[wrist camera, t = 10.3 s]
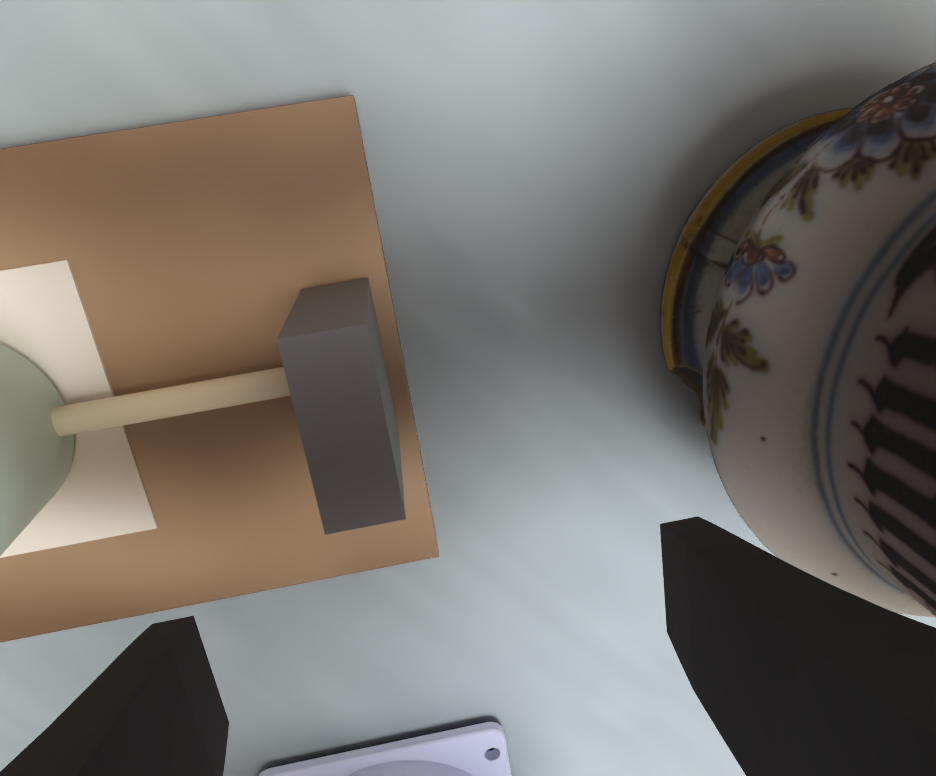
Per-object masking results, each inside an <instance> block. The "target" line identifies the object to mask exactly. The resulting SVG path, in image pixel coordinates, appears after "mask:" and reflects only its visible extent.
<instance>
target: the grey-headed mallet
mask: <svg viewBox="0 0 936 776" xmlns="http://www.w3.org/2000/svg"><path fill="white" fill-rule="evenodd" d="M277 342H278V347H279V351H280V355H281V359H282V363H283V367H280V368H274V369H268V370H263V371H257V372H251V373H246V374H240V375H234V376H229V377H223V378H217V379H212V380H206V381H200V382H195V383H189V384H183V385H177V386H172V387H166V388H160V389H155V390H149V391H143V392H138V393H132V394H126V395H121V396H115V397H109V398H104V399H98V400H92V401H87V402H81V403H75V404H70V405H65V404H64V402H63V400H62V399H61V397H60V395H59V394H58V392H57V390H56V389H55V388H54V386H53V385H52V384H51V382H50V381H49V380H48V379H47V377H46V376H45V375H44V374H43V373H42V372H41V371H40V370H39V369H38V368H37V367H35V366H34V365H33V364H32V363H30V362H29V361H28V360H27V359H25V358H24V357H23V356H21V355H19V354H18V353H16V352H15V351H13V350H12V349H10V348H8V347H6V346H4V345H2V344H0V556H1V555H2V553H3V552H4V551H5V550H6V549H7V548H8V547H9V546H10V544H11V543H12V542H13V541H14V540H15V539H16V538H17V537H18V536H19V534H20V533H21V532H22V531H23V530H24V529H25V528H26V527H27V525H28V524H29V523H30V522H31V521H32V520H33V519H34V518H35V517H36V515H37V514H38V513H39V512H40V511H41V510H42V509H43V508H44V506H45V505H46V504H47V503H48V502H49V501H50V500H51V499H52V498H53V496H54V495H55V494H56V493H57V491H58V490H59V489H60V487H61V486H62V485H63V483H64V481H65V479H66V477H67V475H68V473H69V470H70V467H71V464H72V459H73V453H74V435H73V434H79V433H85V432H90V431H96V430H101V429H107V428H112V427H118V426H124V425H129V424H135V423H140V422H146V421H152V420H157V419H163V418H168V417H174V416H180V415H185V414H191V413H196V412H202V411H208V410H213V409H219V408H224V407H230V406H235V405H241V404H247V403H252V402H258V401H263V400H269V399H275V398H280V397H286V396H291V399H292V403H293V407H294V411H295V415H296V420H297V424H298V428H299V432H300V436H301V440H302V444H303V448H304V452H305V456H306V460H307V464H308V468H309V472H310V476H311V480H312V484H313V488H314V493H315V497H316V501H317V505H318V509H319V513H320V517H321V521H322V525H323V529H324V533H325V535H327V534H332V533H337V532H342V531H348V530H353V529H358V528H363V527H368V526H374V525H379V524H384V523H389V522H394V521H400V520H405V519H406V513H405V501H404V489H403V477H402V465H401V453H400V441H399V431H398V426H397V421H396V415H395V410H394V405H393V400H392V395H391V390H390V385H389V380H388V375H387V369H386V364H385V359H384V354H383V349H382V344H381V339H380V334H379V329H378V324H377V318H376V313H375V308H374V303H373V298H372V293H371V288H370V283H369V278H366V279H360V280H354V281H348V282H342V283H336V284H330V285H324V286H318V287H312V288H306V289H301V290H300V292H299V294H298V297H297V299H296V301H295V303H294V305H293V307H292V309H291V311H290V313H289V315H288V317H287V319H286V321H285V323H284V325H283V328H282V330H281V332H280V334H279V336H278V338H277Z"/></svg>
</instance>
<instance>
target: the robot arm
mask: <svg viewBox="0 0 936 776" xmlns="http://www.w3.org/2000/svg"><path fill="white" fill-rule="evenodd" d="M660 531H661V546H662V562H663V577H664V593H665V608H666V623H667V633H668V635H669V638H670V640H671V642H672V644H673V647H674V649H675V651H676V653H677V656H678V658H679V660H680V662H681V665H682V667H683V669H684V671H685V673H686V675H687V677H688V679H689V681H690V684H691V686H692V688H693V690H694V692H695V693H696V695H697V697H698V698H699V700H700V702H701V703H702V705H703V707H704V708H705V710H706V712H707V713H708V715H709V716H710V718H711V720H712V721H713V723H714V725H715V726H716V728H717V729H718V731H719V733H720V734H721V736H722V738H723V739H724V741H725V742H726V744H727V746H728V747H729V749H730V750H731V752H732V754H733V755H734V757H735V758H736V760H737V762H738V763H739V765H740V766H741V768H742V770H743V771H744V773H745V775H746V776H936V628H934V627H932V626H929V625H926V624H923V623H921V622H918V621H915V620H913V619H910V618H907V617H905V616H902V615H900V614H897V613H895V612H892V611H890V610H888V609H885V608H883V607H880V606H878V605H876V604H874V603H871V602H869V601H867V600H865V599H862V598H860V597H858V596H856V595H853V594H851V593H849V592H847V591H844V590H842V589H840V588H838V587H836V586H834V585H831V584H829V583H827V582H825V581H823V580H821V579H819V578H817V577H815V576H813V575H811V574H809V573H807V572H805V571H803V570H801V569H799V568H797V567H795V566H793V565H791V564H789V563H787V562H785V561H783V560H781V559H779V558H777V557H775V556H773V555H771V554H770V553H768V552H766V551H764V550H762V549H760V548H758V547H756V546H754V545H753V544H751V543H749V542H747V541H745V540H743V539H741V538H739V537H738V536H736V535H734V534H732V533H730V532H728V531H726V530H724V529H722V528H720V527H719V526H717V525H715V524H713V523H711V522H709V521H706V520H704V519H702V518H700V517H693V518H688V519H683V520H678V521H673V522H668V523H663V524H660ZM228 728H229V721H228V718H227V715H226V712H225V709H224V706H223V703H222V700H221V697H220V694H219V691H218V688H217V685H216V682H215V679H214V676H213V673H212V670H211V667H210V664H209V661H208V658H207V655H206V652H205V649H204V646H203V643H202V640H201V637H200V634H199V631H198V628H197V625H196V622H195V619H194V616H190V617H185V618H180V619H175V620H170V621H165V622H160V623H155V624H152V625H151V626H150V627H148V628H147V629H146V630H145V631H144V632H143V633H142V634H141V635H140V636H139V637H137V638H136V639H135V640H134V641H133V642H132V643H131V644H130V645H129V646H128V647H127V648H126V649H125V650H124V651H123V652H122V653H121V654H120V655H119V656H118V657H117V658H116V659H115V660H114V661H113V662H112V663H111V664H110V665H109V666H108V667H107V668H106V669H105V671H104V672H103V673H102V674H101V675H100V676H99V677H98V678H97V679H96V680H95V681H94V682H93V683H92V684H91V685H90V686H89V687H88V688H87V689H86V690H85V691H84V692H83V693H82V694H81V695H80V696H79V697H78V698H77V699H76V700H75V701H74V702H73V703H72V704H71V705H70V706H69V707H68V708H67V709H66V710H65V711H64V712H63V713H62V714H61V715H60V716H59V717H58V718H57V719H56V720H55V721H54V722H53V723H52V724H51V725H50V726H49V727H48V728H47V729H46V730H45V731H44V732H42V733H41V734H40V735H39V736H38V737H37V738H36V739H35V740H34V741H33V742H32V743H31V744H30V745H29V746H27V747H26V748H25V749H24V750H23V751H22V752H21V753H20V754H19V755H18V756H17V757H16V758H15V759H14V760H12V761H11V762H10V763H9V764H8V765H7V766H6V767H5V768H4V769H3V770H2V771H1V772H0V776H223V770H224V763H225V755H226V746H227V737H228ZM490 748H496V749H495V750H492V751H487V750H488V749H490ZM259 776H512V775H511V769H510V763H509V757H508V751H507V745H506V739H505V735H504V730H503V728H502V726H501V725H499V724H498V723H495V722H485V723H480V724H475V725H471V726H466V727H461V728H456V729H452V730H447V731H442V732H438V733H433V734H428V735H423V736H419V737H414V738H409V739H405V740H400V741H395V742H390V743H386V744H381V745H376V746H372V747H367V748H362V749H357V750H353V751H348V752H343V753H339V754H334V755H329V756H324V757H320V758H315V759H310V760H306V761H301V762H296V763H291V764H287V765H282V766H277V767H273V768H269V769H266V770H264V771H262V772H261V773H260V774H259Z"/></svg>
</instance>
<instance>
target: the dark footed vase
mask: <svg viewBox="0 0 936 776" xmlns="http://www.w3.org/2000/svg"><path fill="white" fill-rule="evenodd" d="M661 334H662V344H663V349H664V355H665V359H666V363H667V367H668V369H669V371H670V372H673V373H675V374H677V375H678V376H679V377H681V379H682V380H683V381H684V382H685V383H686V384H687V385H688V386H690V387H691V388H692V389H694V390H695V391H696V392H697V393H698V395H699V396H700V399H701V404H702V407H701V417H700V420H701V422H702V424H703V425H704V426H705V427H706V429H707V435H708V439H709V444H710V448H711V452H712V456H713V459H714V462H715V465H716V468H717V471H718V473H719V476H720V478H721V481H722V483H723V485H724V487H725V489H726V492H727V494H728V496H729V497H730V499H731V501H732V503H733V505H734V506H735V508H736V510H737V511H738V513H739V514H740V516H741V517H742V519H743V520H744V521H745V523H746V524H747V526H748V527H749V528H750V529H751V531H752V532H753V533H754V534H755V535H756V537H757V538H758V539H759V540H760V541H761V543H762V544H763V545H764V546H765V547H766V548H768V549H769V550H770V551H771V552H772V553H773V554H774V555H775V556H776V557H778V558H779V559H781V560H783V561H785V562H787V563H789V564H791V565H793V566H795V567H797V568H799V569H801V570H803V571H805V572H807V573H809V574H811V575H813V576H815V577H817V578H819V579H821V580H823V581H825V582H827V583H829V584H831V585H834V586H836V587H838V588H840V589H842V590H844V591H847V592H849V593H851V594H853V595H856V596H858V597H860V598H862V599H865V600H867V601H869V602H871V603H874V604H876V605H878V606H880V607H883V608H885V609H888V610H890V611H892V612H896V613H901V614H908V615H916V616H926V617H936V62H935V63H933V64H930V65H928V66H926V67H923V68H921V69H919V70H917V71H915V72H913V73H911V74H909V75H907V76H905V77H903V78H901V79H899V80H897V81H896V82H894V83H892V84H890V85H888V86H887V87H885V88H883V89H882V90H880V91H878V92H877V93H875V94H873V95H872V96H870V97H869V98H867V99H866V100H864V101H863V102H861V103H860V104H858V105H857V106H856V107H854V108H846V109H840V110H834V111H828V112H824V113H820V114H817V115H814V116H810V117H807V118H805V119H802V120H799V121H797V122H795V123H793V124H790V125H788V126H786V127H784V128H782V129H780V130H778V131H777V132H775V133H773V134H771V135H770V136H768V137H767V138H765V139H763V140H762V141H760V142H759V143H757V144H756V145H754V146H753V147H752V148H750V149H749V150H748V151H746V152H745V153H744V154H743V155H742V156H740V157H739V158H738V159H737V160H736V161H735V162H734V163H733V164H731V165H730V166H729V167H728V168H727V169H726V170H725V171H724V172H723V173H722V174H721V176H720V177H719V178H718V179H717V180H716V181H715V182H714V183H713V185H712V186H711V187H710V188H709V189H708V191H707V192H706V193H705V195H704V196H703V197H702V199H701V200H700V202H699V203H698V204H697V206H696V207H695V209H694V211H693V212H692V214H691V215H690V217H689V218H688V220H687V223H686V224H685V226H684V227H683V229H682V231H681V233H680V236H679V239H678V241H677V244H676V246H675V249H674V251H673V254H672V257H671V260H670V263H669V266H668V270H667V273H666V278H665V282H664V288H663V294H662V302H661Z"/></svg>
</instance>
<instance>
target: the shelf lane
mask: <svg viewBox="0 0 936 776" xmlns="http://www.w3.org/2000/svg"><path fill="white" fill-rule="evenodd" d="M366 278H369V283H370V288H371V293H372V298H373V303H374V308H375V313H376V318H377V324H378V329H379V334H380V339H381V344H382V349H383V354H384V359H385V364H386V369H387V375H388V380H389V385H390V390H391V395H392V400H393V405H394V410H395V415H396V421H397V426H398V431H399V441H400V453H401V465H402V477H403V489H404V501H405V513H406V519H405V520H400V521H394V522H389V523H384V524H379V525H374V526H368V527H363V528H358V529H353V530H348V531H342V532H337V533H332V534H327V535H325V533H324V529H323V525H322V521H321V517H320V513H319V509H318V505H317V501H316V497H315V493H314V488H313V484H312V480H311V476H310V472H309V468H308V464H307V460H306V456H305V452H304V448H303V444H302V440H301V436H300V432H299V428H298V424H297V420H296V415H295V411H294V407H293V403H292V399H291V396H286V397H280V398H275V399H269V400H263V401H258V402H252V403H247V404H241V405H235V406H230V407H224V408H219V409H213V410H208V411H202V412H196V413H191V414H185V415H180V416H174V417H168V418H163V419H157V420H152V421H146V422H140V423H135V424H129V425H124V426H118V427H112V428H107V429H101V430H96V431H90V432H85V433H79V434H73V435H74V453H73V459H72V464H71V467H70V470H69V473H68V475H67V477H66V479H65V481H64V483H63V485H62V486H61V487H60V489H59V490H58V491H57V493H56V494H55V495H54V496H53V498H52V499H51V500H50V501H49V502H48V503H47V504H46V505H45V506H44V508H43V509H42V510H41V511H40V512H39V513H38V514H37V515H36V517H35V518H34V519H33V520H32V521H31V522H30V523H29V524H28V525H27V527H26V528H25V529H24V530H23V531H22V532H21V533H20V534H19V536H18V537H17V538H16V539H15V540H14V541H13V542H12V543H11V544H10V546H9V547H8V548H7V549H6V550H5V551H4V552H3V553H2V555H1V556H0V642H5V641H10V640H15V639H20V638H25V637H30V636H35V635H41V634H46V633H51V632H56V631H61V630H66V629H71V628H76V627H81V626H86V625H92V624H97V623H102V622H107V621H112V620H117V619H122V618H127V617H132V616H138V615H143V614H148V613H153V612H158V611H163V610H168V609H173V608H178V607H183V606H189V605H194V604H199V603H204V602H209V601H214V600H219V599H224V598H229V597H234V596H240V595H245V594H250V593H255V592H260V591H265V590H270V589H275V588H280V587H286V586H291V585H296V584H301V583H306V582H311V581H316V580H321V579H326V578H331V577H337V576H342V575H347V574H352V573H357V572H362V571H367V570H372V569H377V568H383V567H388V566H393V565H398V564H403V563H408V562H413V561H418V560H423V559H428V558H434V557H439V552H438V545H437V539H436V533H435V527H434V522H433V517H432V511H431V506H430V501H429V495H428V490H427V485H426V479H425V474H424V468H423V463H422V458H421V452H420V447H419V442H418V436H417V431H416V426H415V420H414V415H413V410H412V404H411V399H410V393H409V388H408V383H407V377H406V372H405V367H404V361H403V356H402V351H401V345H400V340H399V334H398V329H397V324H396V318H395V313H394V308H393V302H392V297H391V292H390V286H389V281H388V276H387V270H386V265H385V259H384V254H383V249H382V243H381V238H380V233H379V227H378V222H377V217H376V211H375V206H374V201H373V195H372V190H371V184H370V179H369V174H368V168H367V163H366V158H365V152H364V147H363V142H362V136H361V131H360V126H359V120H358V115H357V109H356V104H355V99H354V96H353V95H351V96H344V97H337V98H331V99H324V100H318V101H311V102H305V103H298V104H292V105H285V106H278V107H272V108H265V109H259V110H252V111H246V112H239V113H233V114H226V115H219V116H213V117H206V118H200V119H193V120H187V121H180V122H174V123H167V124H160V125H154V126H147V127H141V128H134V129H128V130H121V131H115V132H108V133H102V134H95V135H88V136H82V137H75V138H69V139H62V140H56V141H49V142H43V143H36V144H29V145H23V146H16V147H10V148H3V149H0V344H2V345H4V346H6V347H8V348H10V349H12V350H13V351H15V352H16V353H18V354H19V355H21V356H23V357H24V358H25V359H27V360H28V361H29V362H30V363H32V364H33V365H34V366H35V367H37V368H38V369H39V370H40V371H41V372H42V373H43V374H44V375H45V376H46V377H47V379H48V380H49V381H50V382H51V384H52V385H53V386H54V388H55V389H56V390H57V392H58V394H59V395H60V397H61V399H62V400H63V402H64V404H65V405H70V404H75V403H81V402H87V401H92V400H98V399H104V398H109V397H115V396H121V395H126V394H132V393H138V392H143V391H149V390H155V389H160V388H166V387H172V386H177V385H183V384H189V383H195V382H200V381H206V380H212V379H217V378H223V377H229V376H234V375H240V374H246V373H251V372H257V371H263V370H268V369H274V368H280V367H283V363H282V359H281V355H280V351H279V347H278V342H277V338H278V336H279V334H280V332H281V330H282V328H283V325H284V323H285V321H286V319H287V317H288V315H289V313H290V311H291V309H292V307H293V305H294V303H295V301H296V299H297V297H298V294H299V292H300V290H301V289H306V288H312V287H318V286H324V285H330V284H336V283H342V282H348V281H354V280H360V279H366Z"/></svg>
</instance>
